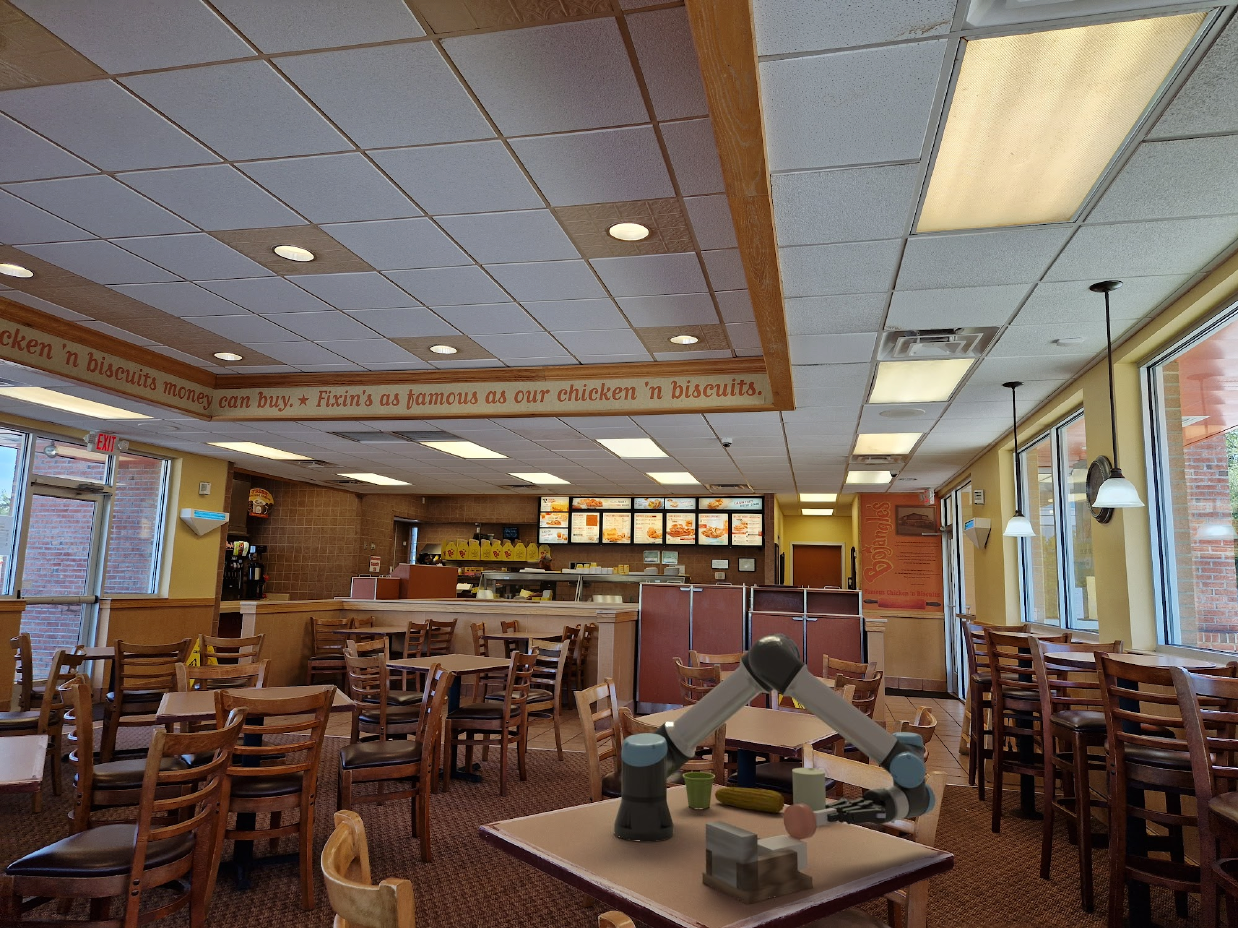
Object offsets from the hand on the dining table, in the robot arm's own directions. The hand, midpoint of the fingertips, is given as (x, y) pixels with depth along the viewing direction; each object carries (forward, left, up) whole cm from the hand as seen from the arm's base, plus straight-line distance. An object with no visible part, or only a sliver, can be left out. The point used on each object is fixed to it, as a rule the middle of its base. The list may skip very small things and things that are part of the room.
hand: (814, 818), depth 175 cm
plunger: (-8, -4, -9) cm, 12 cm away
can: (+12, +47, -11) cm, 50 cm away
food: (-3, +53, -11) cm, 55 cm away
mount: (-15, -8, -11) cm, 20 cm away
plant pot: (-18, +55, -11) cm, 59 cm away
